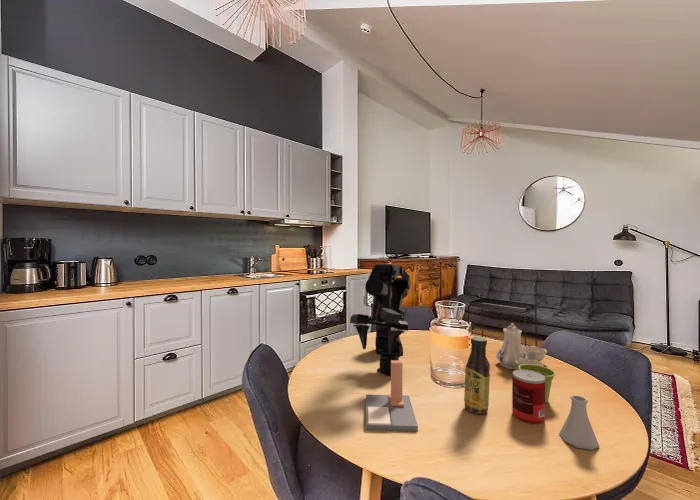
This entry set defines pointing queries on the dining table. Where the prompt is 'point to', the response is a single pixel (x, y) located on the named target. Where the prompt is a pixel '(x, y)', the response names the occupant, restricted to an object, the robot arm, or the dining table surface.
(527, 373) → the canned food
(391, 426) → the ticket board
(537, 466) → the dining table surface
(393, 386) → the stub
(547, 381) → the plant pot
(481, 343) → the sauce bottle
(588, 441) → the flask
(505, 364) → the chinaware
